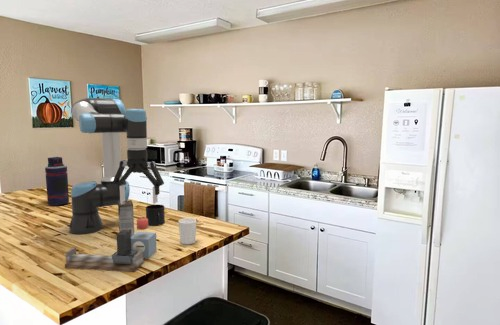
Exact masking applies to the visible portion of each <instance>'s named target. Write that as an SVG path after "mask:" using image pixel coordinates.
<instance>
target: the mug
mask: <svg viewBox="0 0 500 325" xmlns="http://www.w3.org/2000/svg"><path fill="white" fill-rule="evenodd" d="M145 218H147V219H148V226H152V227H157V226H161V225H163V224H165V222H166V221H165V205H163V204H158V203H155V204H150V205H146V206H145Z"/></svg>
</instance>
